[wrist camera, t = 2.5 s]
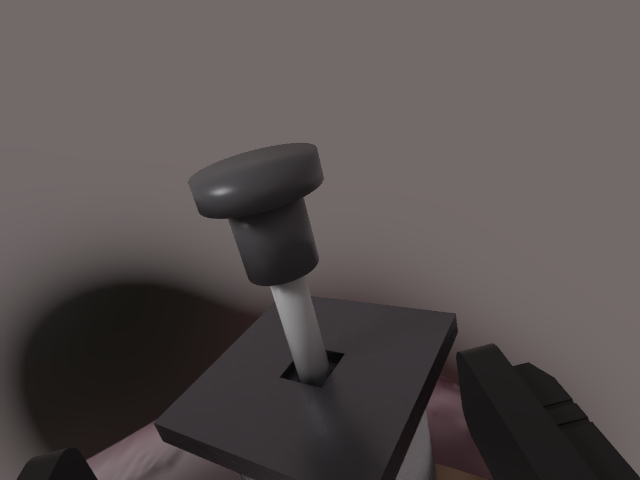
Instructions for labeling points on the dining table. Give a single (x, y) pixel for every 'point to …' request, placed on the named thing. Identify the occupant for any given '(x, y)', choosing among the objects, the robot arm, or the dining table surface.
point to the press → (320, 398)
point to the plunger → (273, 235)
